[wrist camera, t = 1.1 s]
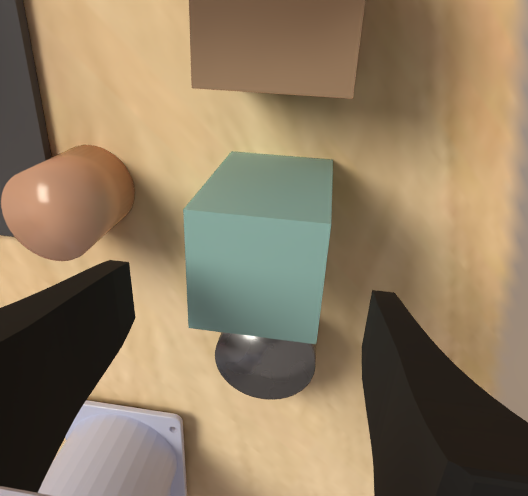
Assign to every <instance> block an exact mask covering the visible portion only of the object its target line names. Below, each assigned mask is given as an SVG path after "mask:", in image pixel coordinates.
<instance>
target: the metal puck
mask: <svg viewBox="0 0 528 496" xmlns="http://www.w3.org/2000/svg"><path fill="white" fill-rule="evenodd" d="M315 359H316V344H310V343H302V342H295V341H287V340H279V339H271V338H264V337H256V336H248V335H240V334H232V333H225V332H221V335H220V338H219V340H218V343H217V346H216V350H215V360H216V364H217V367H218V370H219V372H220V373H221V375H222V376H223V378H224V379H225V380H226V381H227V382H228V383H229V384H230V385H231V386H233V387H234V388H235V389H237V390H238V391H240V392H242V393H244V394H247V395H249V396H252V397H256V398H261V399H282V398H287V397H290V396H292V395H294V394H297V393H298V392H300V391H301V390H303V389H304V388H305V387H306V386H307V385H308V384H309V382H310V381H311V379H312V377H313V375H314V371H315Z"/></svg>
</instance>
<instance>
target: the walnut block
mask: <svg viewBox="0 0 528 496" xmlns="http://www.w3.org/2000/svg"><path fill="white" fill-rule="evenodd" d="M364 8H365V0H189V16H190V48H191V80H192V88H197V89H212V90H228V91H243V92H258V93H273V94H289V95H304V96H319V97H334V98H349V99H353V93H354V86H355V78H356V70H357V62H358V55H359V47H360V39H361V31H362V24H363V16H364Z"/></svg>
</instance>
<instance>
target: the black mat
mask: <svg viewBox="0 0 528 496" xmlns="http://www.w3.org/2000/svg"><path fill="white" fill-rule="evenodd" d="M50 158H52V157H51V152H50V146H49V141H48V135H47V130H46V124H45V119H44V113H43V108H42V102H41V97H40V91H39V86H38V80H37V75H36V69H35V64H34V58H33V53H32V47H31V42H30V36H29V31H28V25H27V20H26V14H25V9H24V3H23V0H0V235H4V236H13V237H15V236H14V235H13V234H12V232H11V231H10V229H9V228H8V226H7V224H6V222H5V219H4V216H3V213H2V208H1V197H2V192H3V189H4V187H5V185H6V183H7V182H8V181H9V180H10V179H11V178H12V177H13V176H14V175H16V174H18V173H20V172H22V171H24V170H27V169H29V168H31V167H33V166H35V165H37V164H39V163H42V162H44V161H46V160H48V159H50Z"/></svg>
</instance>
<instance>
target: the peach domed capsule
mask: <svg viewBox="0 0 528 496" xmlns="http://www.w3.org/2000/svg"><path fill="white" fill-rule="evenodd" d="M134 197H135V189H134V184H133V180H132V178H131V175H130V173H129V171H128V170H127V168H126V167H125V165H124V164H123V163H122V162H121V161H120V160H119V159H118V158H117V157H116V156H115V155H113V154H112V153H111V152H109V151H107V150H105V149H103V148H100V147H97V146H92V145H81V146H77V147H74V148H72V149H69V150H67V151H65V152H63V153H61V154H59V155H57V156H54V157H52V158H50V159H48V160H46V161H44V162H42V163H39V164H37V165H35V166H33V167H31V168H29V169H27V170H24V171H22V172H20V173H18V174H16V175H14V176H13V177H12V178H11V179H10V180H9V181H8V182H7V183H6V185H5V187H4V189H3V192H2V197H1V208H2V213H3V216H4V219H5V222H6V224H7V226H8V228H9V229H10V231H11V232H12V234H13V235H14V236H15V237H16V239H17V240H18V241H19V242H20V243H21V244H22V245H23V246H25V247H26V248H27V249H29V250H30V251H32V252H33V253H35V254H37V255H39V256H41V257H44V258H47V259H50V260H55V261H68V260H73V259H75V258H78V257H80V256H81V255H83V254H84V253H85V252H86V251H87V250H88V249H90V248H91V247H92V246H93V245H94V244H95V243H96V242H97V241H98V240H100V239H101V238H102V237H103V236H104V235H105V234H106V233H107V232H108V231H109V230H111V229H112V228H113V227H114V226H115V225H116V224H117V223H118V222H119V221H121V220H122V219H123V218H124V217H125V216H126V215H127V214H128V213H129V211H130V210H131V208H132V206H133V202H134Z"/></svg>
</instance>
